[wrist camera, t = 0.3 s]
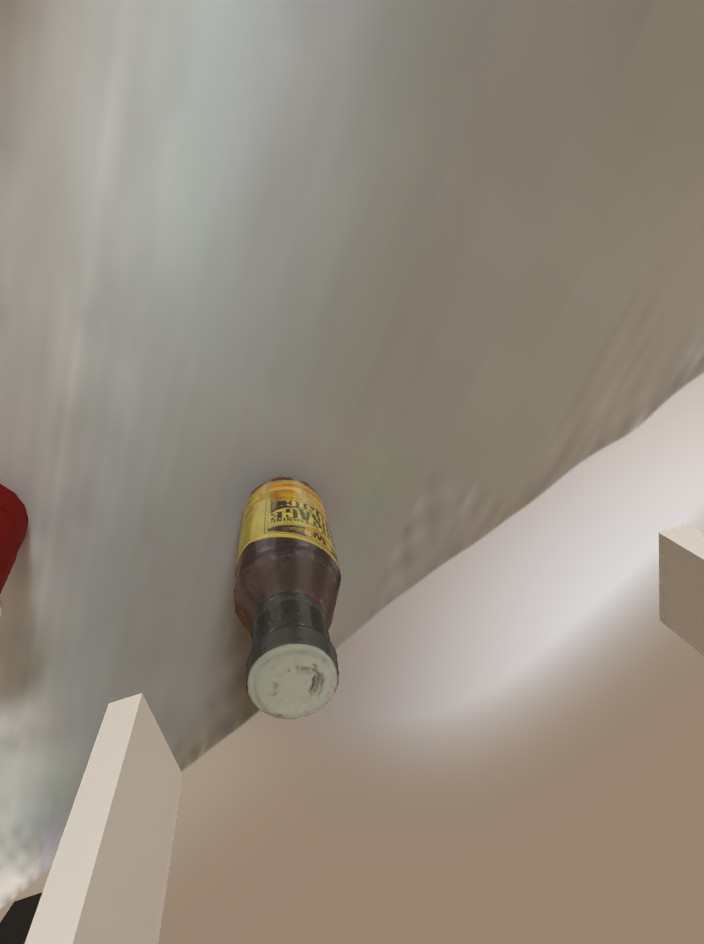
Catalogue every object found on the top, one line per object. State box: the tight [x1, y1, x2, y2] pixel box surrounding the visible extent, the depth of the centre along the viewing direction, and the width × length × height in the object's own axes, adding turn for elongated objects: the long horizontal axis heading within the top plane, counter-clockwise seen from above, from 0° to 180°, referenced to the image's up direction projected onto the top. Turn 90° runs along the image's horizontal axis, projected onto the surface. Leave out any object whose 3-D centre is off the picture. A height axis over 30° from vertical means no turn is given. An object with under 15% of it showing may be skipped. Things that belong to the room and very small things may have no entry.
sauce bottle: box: [234, 477, 341, 719], centre depth 31 cm, size 7×6×20 cm
